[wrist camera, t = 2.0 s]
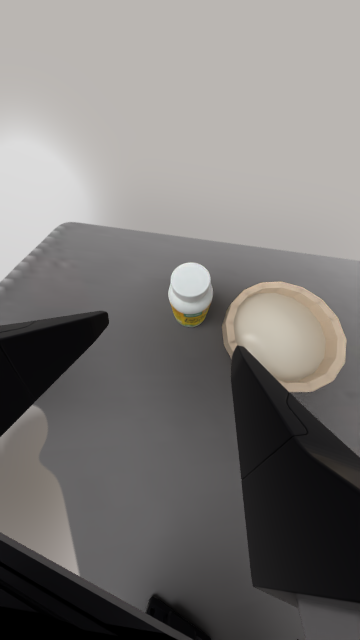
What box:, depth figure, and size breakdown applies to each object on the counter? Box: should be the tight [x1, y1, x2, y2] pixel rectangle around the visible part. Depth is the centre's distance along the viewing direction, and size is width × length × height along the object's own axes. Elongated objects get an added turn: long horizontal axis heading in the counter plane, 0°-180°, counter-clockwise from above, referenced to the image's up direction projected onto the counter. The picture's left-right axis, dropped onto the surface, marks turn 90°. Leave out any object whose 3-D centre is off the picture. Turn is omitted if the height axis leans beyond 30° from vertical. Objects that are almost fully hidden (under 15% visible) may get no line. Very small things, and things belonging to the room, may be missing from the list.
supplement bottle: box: [168, 263, 213, 327], centre depth 18 cm, size 5×5×10 cm
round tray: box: [222, 282, 346, 392], centre depth 20 cm, size 15×15×2 cm
